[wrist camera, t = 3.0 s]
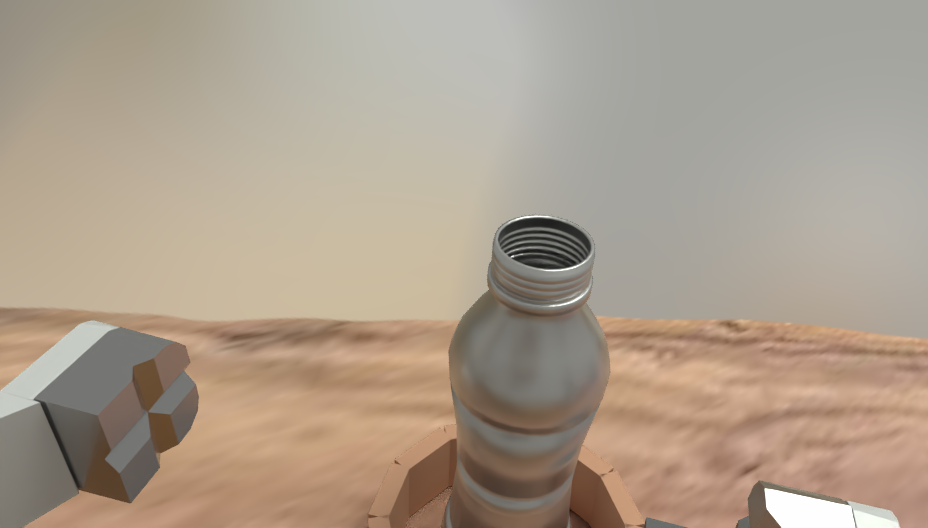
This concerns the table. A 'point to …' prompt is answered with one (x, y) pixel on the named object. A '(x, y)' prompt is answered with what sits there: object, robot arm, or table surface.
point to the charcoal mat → (659, 524)
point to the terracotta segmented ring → (434, 470)
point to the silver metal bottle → (526, 378)
